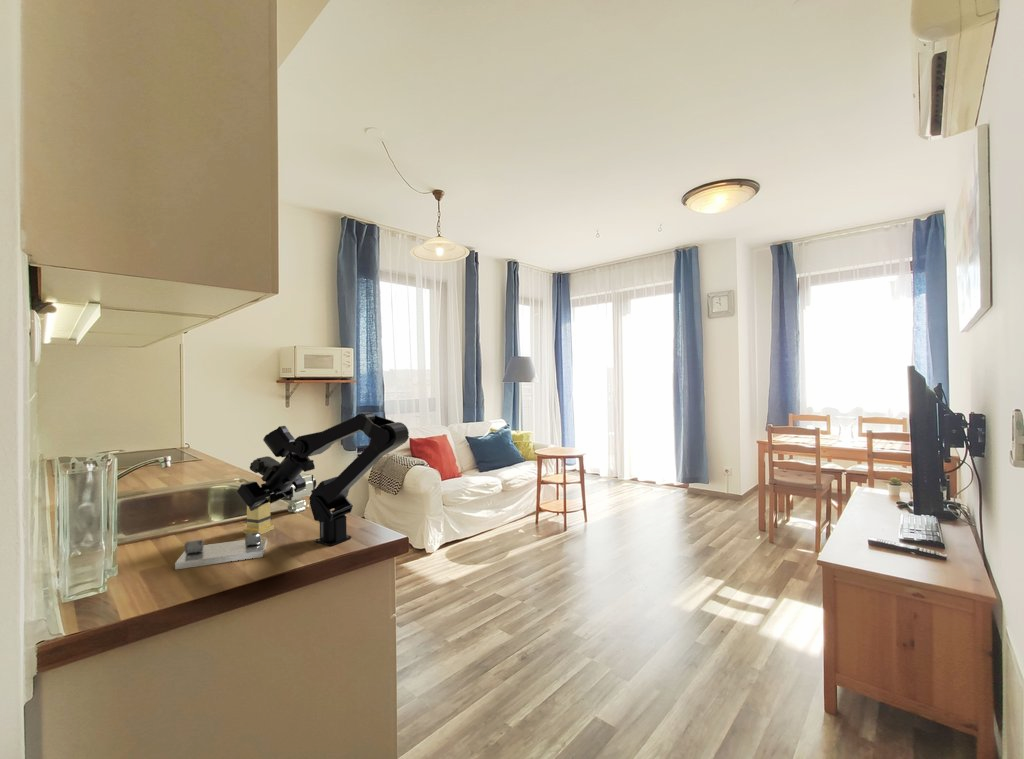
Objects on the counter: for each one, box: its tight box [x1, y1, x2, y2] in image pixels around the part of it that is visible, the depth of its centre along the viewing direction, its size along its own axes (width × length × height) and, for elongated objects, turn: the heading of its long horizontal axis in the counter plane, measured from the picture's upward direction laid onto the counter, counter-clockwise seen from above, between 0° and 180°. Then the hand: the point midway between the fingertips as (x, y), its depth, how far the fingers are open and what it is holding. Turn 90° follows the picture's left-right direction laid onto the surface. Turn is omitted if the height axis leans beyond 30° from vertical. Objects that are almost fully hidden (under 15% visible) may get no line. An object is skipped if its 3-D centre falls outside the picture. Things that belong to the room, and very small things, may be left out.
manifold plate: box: [174, 533, 268, 570], centre depth 107 cm, size 17×10×4 cm, turn 113°
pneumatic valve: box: [280, 473, 317, 514], centre depth 142 cm, size 6×12×12 cm, turn 156°
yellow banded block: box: [242, 496, 275, 535], centre depth 124 cm, size 5×5×10 cm
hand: (257, 507), depth 124 cm, fingers closed on yellow banded block, 4 cm apart
